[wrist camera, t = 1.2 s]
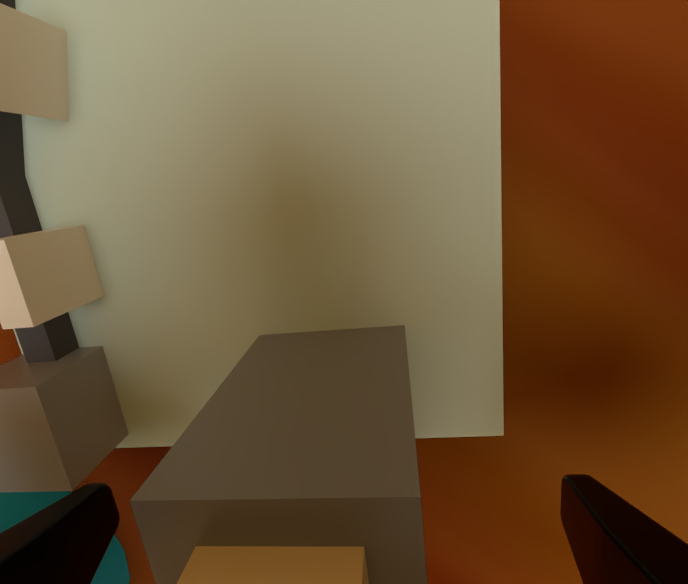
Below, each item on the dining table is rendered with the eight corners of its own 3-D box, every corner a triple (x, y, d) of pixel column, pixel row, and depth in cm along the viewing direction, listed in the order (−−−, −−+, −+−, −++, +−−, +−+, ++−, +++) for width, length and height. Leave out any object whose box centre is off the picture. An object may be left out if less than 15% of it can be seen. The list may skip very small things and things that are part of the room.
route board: (478, -989, 6) (488, -1117, 5) (498, 423, 12) (504, 435, 12) (-294, -618, 8) (-349, -681, 7) (70, 438, 14) (56, 449, 13)
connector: (404, 325, 11) (426, 553, 4) (414, 453, 12) (443, 786, 6) (259, 335, 11) (89, 551, 5) (281, 456, 13) (166, 765, 6)
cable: (7, -74, 9) (-32, -100, 8) (126, 347, 12) (106, 361, 11) (-84, -54, 10) (-130, -76, 9) (53, 352, 12) (28, 366, 11)
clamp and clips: (53, -17, 9) (-54, -76, 7) (172, 432, 13) (124, 490, 10) (-107, 15, 10) (-253, -29, 8) (46, 437, 13) (-26, 492, 11)
